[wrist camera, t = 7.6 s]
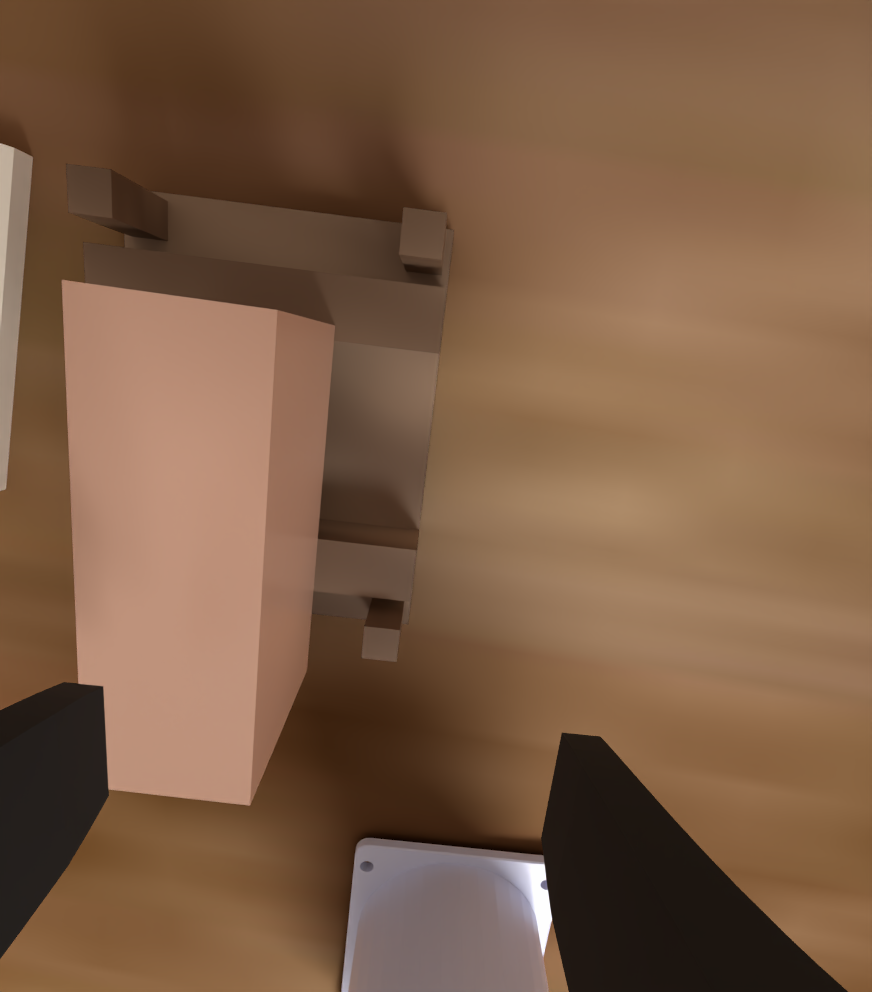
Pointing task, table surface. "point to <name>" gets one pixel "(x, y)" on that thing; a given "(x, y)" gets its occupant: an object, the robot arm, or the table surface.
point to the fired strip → (11, 279)
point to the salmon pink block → (193, 528)
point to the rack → (355, 365)
